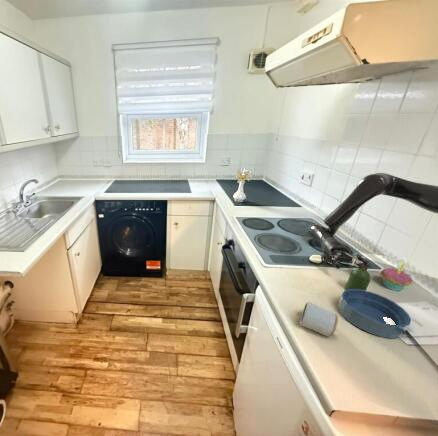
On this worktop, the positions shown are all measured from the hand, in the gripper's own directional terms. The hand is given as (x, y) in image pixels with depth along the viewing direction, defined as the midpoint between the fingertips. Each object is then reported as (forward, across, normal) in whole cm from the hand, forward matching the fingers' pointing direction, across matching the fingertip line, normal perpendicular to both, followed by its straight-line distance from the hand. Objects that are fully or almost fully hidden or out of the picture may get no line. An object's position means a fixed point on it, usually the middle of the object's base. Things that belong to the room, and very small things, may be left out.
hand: (351, 268), depth 92 cm
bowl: (+20, -2, +6) cm, 21 cm away
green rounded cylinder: (+6, 0, +6) cm, 8 cm away
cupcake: (-1, +15, +6) cm, 16 cm away
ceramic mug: (+28, -20, +6) cm, 35 cm away
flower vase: (-93, -34, +6) cm, 99 cm away
